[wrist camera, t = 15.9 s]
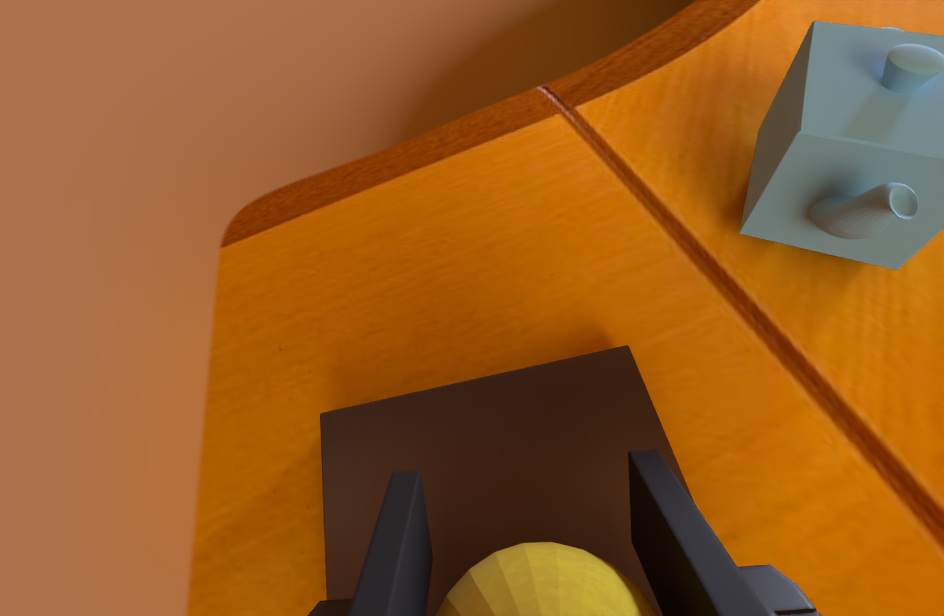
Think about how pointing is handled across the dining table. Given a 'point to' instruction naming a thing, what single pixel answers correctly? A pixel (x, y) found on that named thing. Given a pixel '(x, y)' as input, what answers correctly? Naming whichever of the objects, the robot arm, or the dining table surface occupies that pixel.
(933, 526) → the dining table surface
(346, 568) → the cutting board
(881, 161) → the knobbed blue-grey cube
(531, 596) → the lemon
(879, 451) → the dining table surface
